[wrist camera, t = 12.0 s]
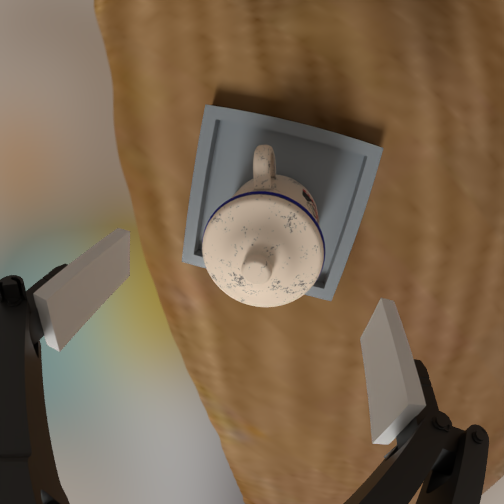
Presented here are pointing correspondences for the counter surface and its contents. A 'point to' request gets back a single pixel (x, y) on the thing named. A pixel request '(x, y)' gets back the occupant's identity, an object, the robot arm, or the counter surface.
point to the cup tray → (287, 164)
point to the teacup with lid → (265, 238)
